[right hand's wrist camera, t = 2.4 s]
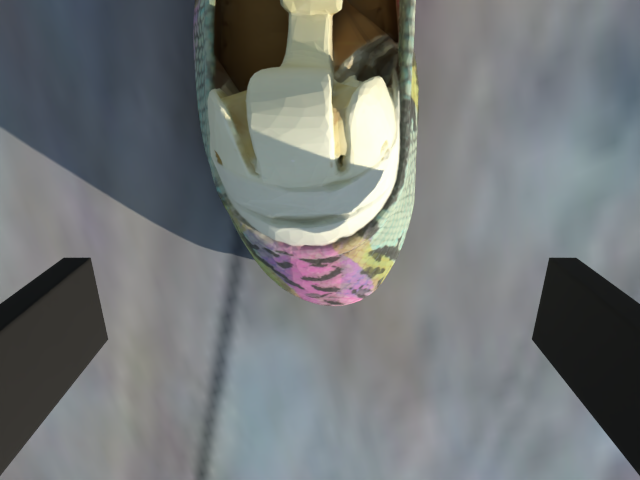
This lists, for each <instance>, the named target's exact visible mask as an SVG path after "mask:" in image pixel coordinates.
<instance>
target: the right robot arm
mask: <svg viewBox="0 0 640 480" xmlns="http://www.w3.org/2000/svg"><path fill="white" fill-rule="evenodd" d="M107 340H108V337H107V332H106V327H105V323H104V318H103V313H102V309H101V304H100V299H99V295H98V290H97V285H96V281H95V276H94V271H93V267H92V262H91V258H63V259H61V260H60V261H59V262H57V263H56V264H55V265H53V266H52V267H50V268H49V269H48V270H46V271H45V272H44V273H42V274H41V275H39V276H38V277H37V278H35V279H34V280H33V281H31V282H30V283H29V284H27V285H26V286H24V287H23V288H22V289H20V290H19V291H18V292H16V293H15V294H13V295H12V296H11V297H9V298H8V299H7V300H5V301H4V302H2V303H1V304H0V475H1V474H2V473H3V472H4V470H5V469H6V468H7V466H8V465H9V464H10V463H11V461H12V460H13V459H14V458H15V456H16V455H17V454H18V453H19V451H20V450H21V449H22V447H23V446H24V445H25V444H26V442H27V441H28V440H29V439H30V437H31V436H32V435H33V434H34V432H35V431H36V430H37V429H38V427H39V426H40V425H41V423H42V422H43V421H44V420H45V418H46V417H47V416H48V415H49V413H50V412H51V411H52V410H53V408H54V407H55V406H56V405H57V403H58V402H59V401H60V399H61V398H62V397H63V396H64V394H65V393H66V392H67V391H68V389H69V388H70V387H71V386H72V384H73V383H74V382H75V380H76V379H77V378H78V377H79V375H80V374H81V373H82V372H83V370H84V369H85V368H86V367H87V365H88V364H89V363H90V362H91V360H92V359H93V358H94V356H95V355H96V354H97V353H98V351H99V350H100V349H101V348H102V346H103V345H104V344H105V343H106V341H107ZM532 340H533V341H534V343H535V344H536V345H537V346H538V348H539V349H540V350H541V351H542V353H543V354H544V355H545V356H546V358H547V359H548V360H549V362H550V363H551V364H552V365H553V367H554V368H555V369H556V370H557V372H558V373H559V374H560V375H561V377H562V378H563V379H564V380H565V382H566V383H567V384H568V386H569V387H570V388H571V389H572V391H573V392H574V393H575V394H576V396H577V397H578V398H579V399H580V401H581V402H582V403H583V405H584V406H585V407H586V408H587V410H588V411H589V412H590V413H591V415H592V416H593V417H594V418H595V420H596V421H597V422H598V423H599V425H600V426H601V427H602V429H603V430H604V431H605V432H606V434H607V435H608V436H609V437H610V439H611V440H612V441H613V442H614V444H615V445H616V446H617V447H618V449H619V450H620V451H621V453H622V454H623V455H624V456H625V458H626V459H627V460H628V461H629V463H630V464H631V465H632V466H633V468H634V469H635V470H636V472H637V473H638V474H639V475H640V304H639V303H638V302H636V301H635V300H633V299H632V298H631V297H629V296H628V295H627V294H625V293H624V292H622V291H621V290H620V289H618V288H617V287H616V286H614V285H613V284H611V283H610V282H609V281H607V280H606V279H605V278H603V277H602V276H601V275H599V274H598V273H596V272H595V271H594V270H592V269H591V268H590V267H588V266H587V265H585V264H584V263H583V262H581V261H580V260H579V259H577V258H549V262H548V267H547V271H546V276H545V281H544V285H543V290H542V295H541V299H540V304H539V309H538V313H537V318H536V323H535V327H534V332H533V337H532Z"/></svg>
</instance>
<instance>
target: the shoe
mask: <svg viewBox="0 0 640 480" xmlns="http://www.w3.org/2000/svg"><path fill="white" fill-rule="evenodd" d="M415 3H416V0H195V9H194V25H193V43H194V65H195V81H196V91H197V103H198V116H199V122H200V128H201V134H202V139H203V144H204V148H205V152H206V155H207V158H208V161H209V164H210V168H211V172H212V176H213V180H214V183H215V187H216V189H217V192H218V195H219V197H220V199H221V200H222V203H223V205H224V207H225V208H226V210H227V211H228V213H229V215H230V217H231V220H232V222H233V224H234V226H235V228H236V230H237V232H238V234H239V236H240V237H241V239H242V241H243V242H244V244H245V246H246V247H247V249H248V250H249V252H250V253H251V255H252V256H253V258H254V259H255V261H256V262H257V263H258V264H259V266H260V267H261V268H262V269H263V271H264V272H265V273H266V274H267V275H268V276H269V277H270V278H271V279H272V280H273V281H275V282H276V283H277V284H278V285H279V286H280V287H282V288H283V289H284V290H286V291H288V292H290V293H291V294H293V295H295V296H297V297H299V298H302V299H304V300H306V301H309V302H312V303H315V304H320V305H326V306H342V305H347V304H351V303H355V302H357V301H360V300H362V299H364V298H365V297H367V296H368V295H370V294H371V293H373V292H374V291H375V290H376V289H377V288H378V286H379V285H380V284H381V283H382V282H383V280H384V279H385V277H386V276H387V274H388V273H389V271H390V269H391V267H392V266H393V264H394V262H395V260H396V259H397V257H398V254H399V252H400V249H401V247H402V244H403V242H404V239H405V236H406V232H407V229H408V226H409V223H410V219H411V215H412V210H413V205H414V191H415V173H416V146H417V130H418V115H419V107H418V75H417V67H416V60H415V53H414V31H415Z"/></svg>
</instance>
